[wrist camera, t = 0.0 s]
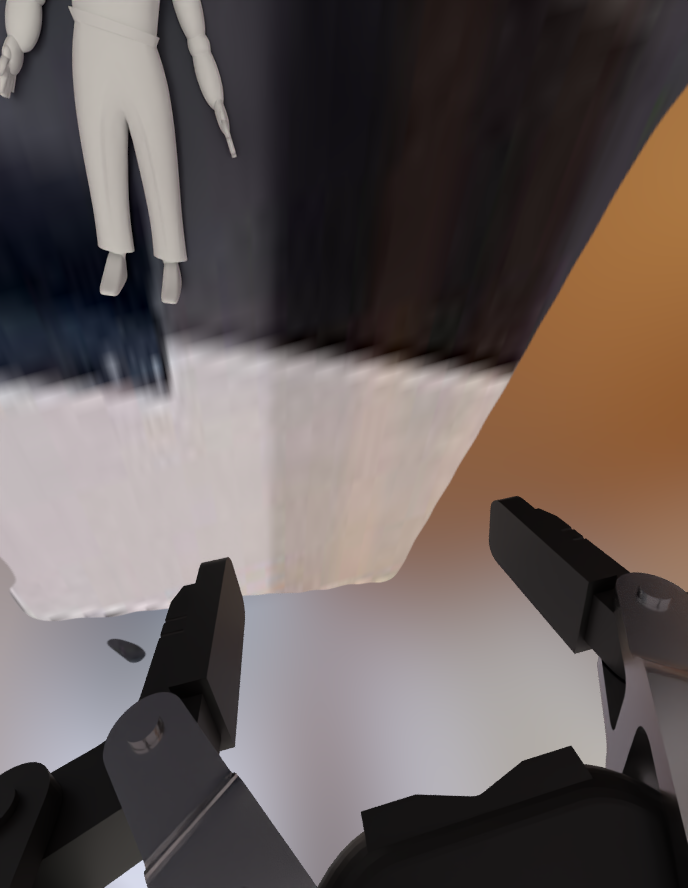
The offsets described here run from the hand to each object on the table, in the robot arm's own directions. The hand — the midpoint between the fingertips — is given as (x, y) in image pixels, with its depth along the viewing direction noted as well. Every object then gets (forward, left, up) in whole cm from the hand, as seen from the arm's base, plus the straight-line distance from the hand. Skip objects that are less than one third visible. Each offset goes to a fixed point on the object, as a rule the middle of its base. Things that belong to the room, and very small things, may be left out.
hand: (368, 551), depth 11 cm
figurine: (-14, 0, -32) cm, 35 cm away
